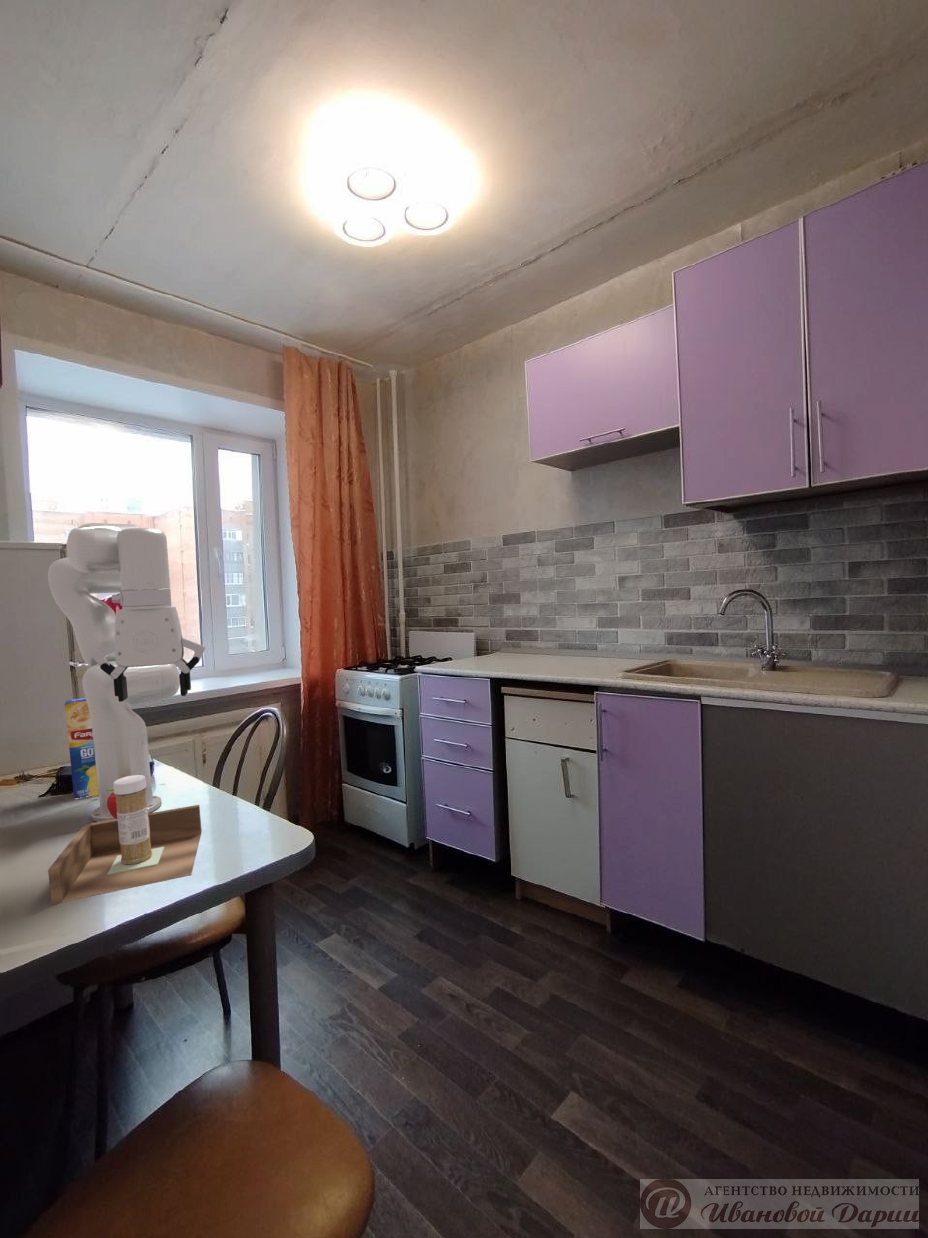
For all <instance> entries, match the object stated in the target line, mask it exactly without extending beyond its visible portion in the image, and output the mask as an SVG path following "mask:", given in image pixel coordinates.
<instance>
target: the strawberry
mask: <svg viewBox="0 0 928 1238" xmlns="http://www.w3.org/2000/svg"><path fill="white" fill-rule="evenodd" d="M118 779H119V778H118ZM106 791H114V788H113V789H109V790H106ZM107 807H108V810H109V812H110V814H111V815H112V816H113V817H114V818H115V819H117V804H116V796H115V794H114V792H113V793H112V794H110V796H109V797H108V799H107Z"/></svg>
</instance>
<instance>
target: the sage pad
mask: <svg viewBox="0 0 928 1238" xmlns="http://www.w3.org/2000/svg"><path fill="white" fill-rule="evenodd" d="M151 850H152V855H151V857H150V858H148V859H146V860H144V861H142V862H140V863H135V864H123V863H122V862H121V858H122V857H121V855H118V856H117V857H116V859H115V861H114V863H113V865H112V866H111V868H110V870H109V872H108V873H107V875H110V874H115V873H120V872H125V871H130V870H135V869H140V868H145V867H150V866H155V865H158V863H159V860H160V858H161V855H162V853H163V850H164V847H160V848H154V849H151Z"/></svg>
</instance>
